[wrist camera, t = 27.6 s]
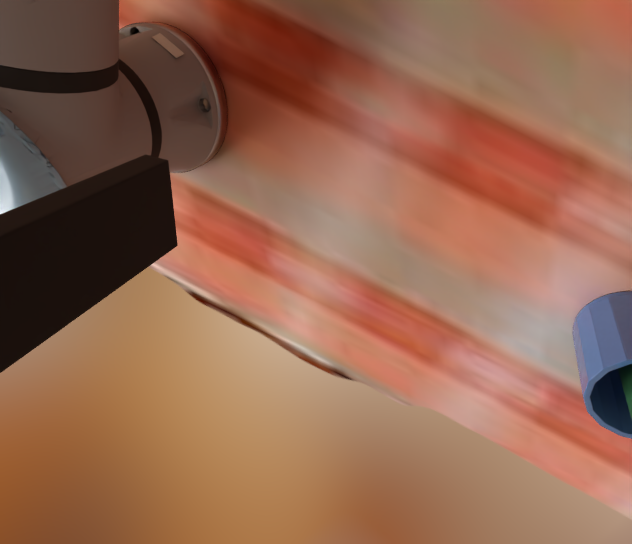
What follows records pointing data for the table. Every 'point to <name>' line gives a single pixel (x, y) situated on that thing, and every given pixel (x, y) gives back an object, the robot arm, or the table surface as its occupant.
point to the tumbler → (605, 358)
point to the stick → (627, 384)
